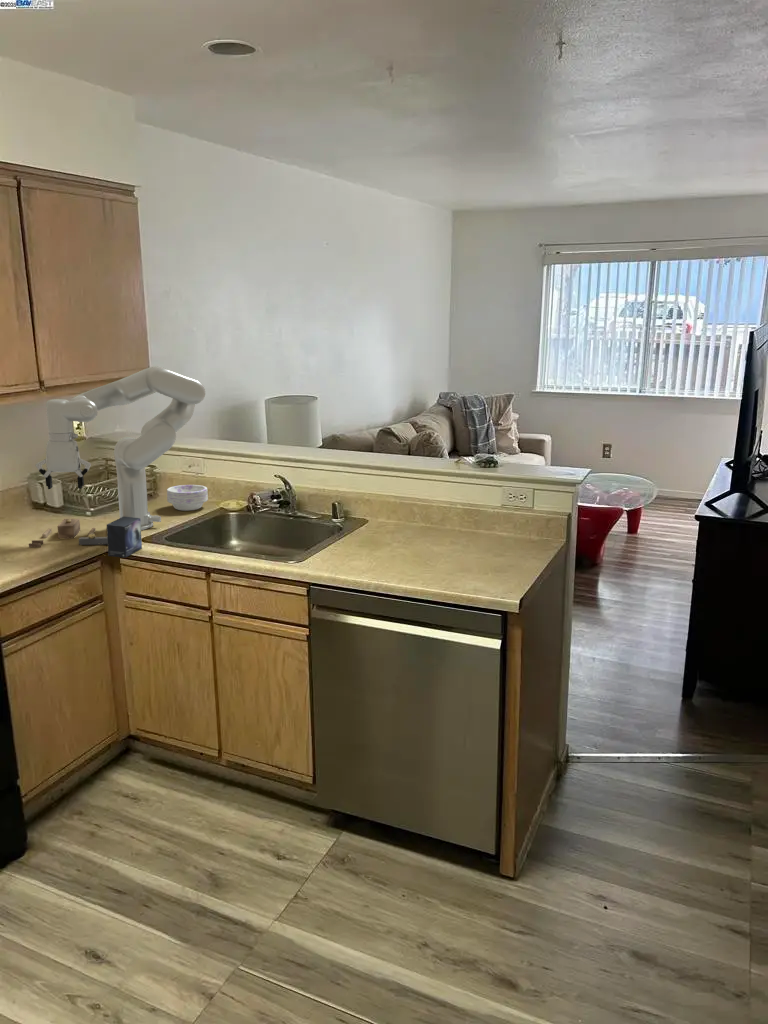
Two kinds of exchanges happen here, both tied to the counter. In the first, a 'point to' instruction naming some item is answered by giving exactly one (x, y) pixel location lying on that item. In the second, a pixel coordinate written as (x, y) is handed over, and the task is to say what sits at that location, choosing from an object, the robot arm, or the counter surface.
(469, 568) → the counter surface
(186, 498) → the paper bowls
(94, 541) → the bar
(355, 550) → the counter surface
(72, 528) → the cap block
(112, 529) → the small box
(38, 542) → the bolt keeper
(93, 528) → the bolt guide rails
